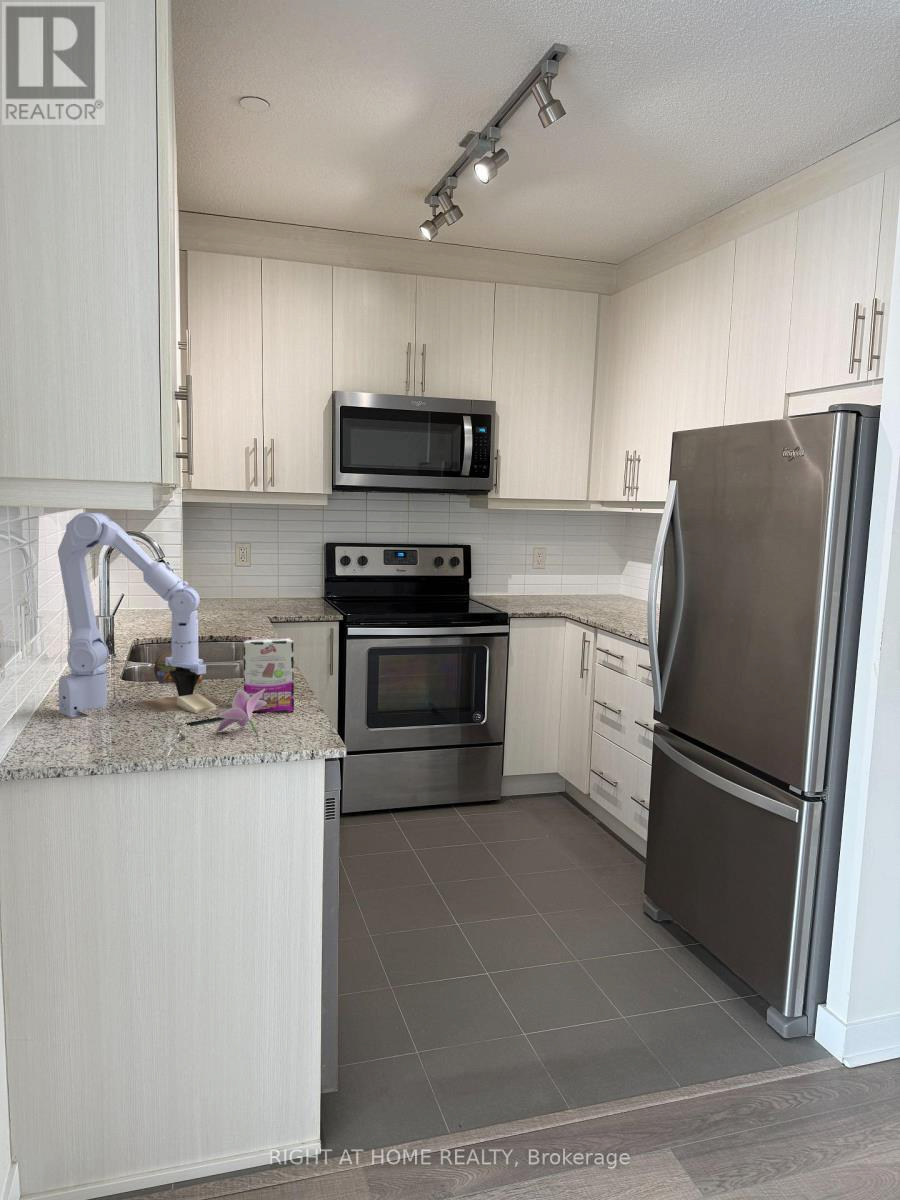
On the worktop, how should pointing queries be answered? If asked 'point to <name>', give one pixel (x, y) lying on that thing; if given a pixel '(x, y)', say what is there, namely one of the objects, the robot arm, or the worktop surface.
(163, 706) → the board
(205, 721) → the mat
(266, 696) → the candy bar box
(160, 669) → the orange green food package
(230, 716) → the lily
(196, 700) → the cream flat block
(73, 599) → the robot arm
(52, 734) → the worktop surface
